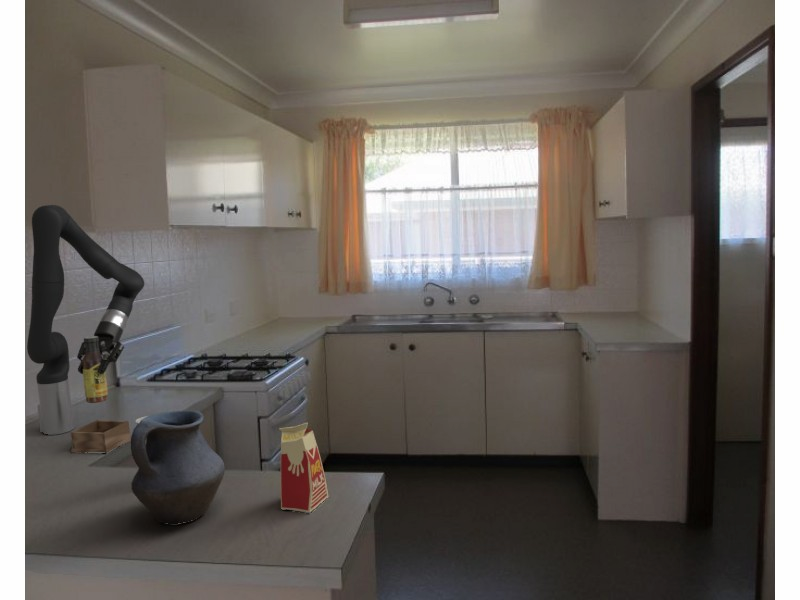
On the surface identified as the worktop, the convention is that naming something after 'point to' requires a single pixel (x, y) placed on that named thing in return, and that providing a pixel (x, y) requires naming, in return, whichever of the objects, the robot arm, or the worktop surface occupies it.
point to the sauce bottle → (93, 372)
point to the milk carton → (301, 470)
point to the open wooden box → (100, 436)
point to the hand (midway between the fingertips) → (90, 372)
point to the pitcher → (174, 466)
